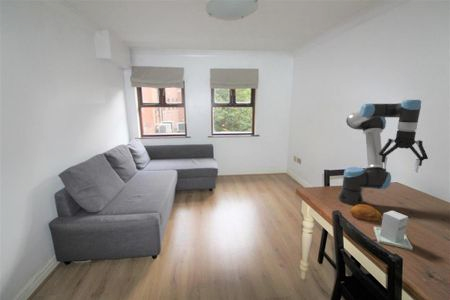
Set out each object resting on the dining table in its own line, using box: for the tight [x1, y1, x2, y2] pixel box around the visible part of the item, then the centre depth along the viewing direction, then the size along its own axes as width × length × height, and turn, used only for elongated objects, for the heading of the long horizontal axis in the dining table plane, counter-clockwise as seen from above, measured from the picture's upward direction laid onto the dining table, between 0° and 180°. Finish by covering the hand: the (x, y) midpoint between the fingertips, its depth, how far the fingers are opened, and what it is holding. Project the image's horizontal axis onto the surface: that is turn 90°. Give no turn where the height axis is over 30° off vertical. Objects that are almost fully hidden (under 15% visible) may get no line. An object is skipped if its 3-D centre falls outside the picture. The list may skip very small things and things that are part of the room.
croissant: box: [349, 203, 382, 222], centre depth 130 cm, size 14×16×8 cm
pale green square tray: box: [373, 226, 413, 251], centre depth 108 cm, size 13×13×1 cm
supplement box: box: [380, 210, 409, 243], centre depth 107 cm, size 7×7×13 cm
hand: (399, 169), depth 115 cm, fingers open, 13 cm apart
